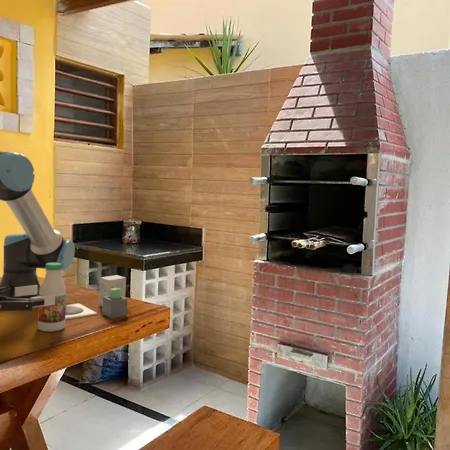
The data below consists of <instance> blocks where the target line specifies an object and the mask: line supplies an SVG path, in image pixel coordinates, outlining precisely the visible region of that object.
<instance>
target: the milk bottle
mask: <svg viewBox="0 0 450 450" xmlns="http://www.w3.org/2000/svg"><path fill="white" fill-rule="evenodd" d="M45 268H46V269H44V270H45V276H44V279H43V280H42V283H41V284H40V286H41V287H40V292H39V294H38V297H41V296H49V295H55V305H49V306H41V307H38V315H37V316H38V317H37V318H38V319H37V321H38V322H37V328H38V330H39V331H42V332H45V333H46V332H50V333H51V332H52V333H53V332H58V331H61V330H62V331H63V329H64V328H65V326H66V320H65V313H66V305H67V289H66V285H65V282H64V280H63V277H62V274H61V273H62V272H63V271H62V270H61V269H62V264H61V263H47V264H46V266H45Z"/></svg>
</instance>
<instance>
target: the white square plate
mask: <svg viewBox="0 0 450 450" xmlns="http://www.w3.org/2000/svg"><path fill="white" fill-rule="evenodd" d="M96 315H98V313H97V312H96V311H94V310H92V309H90V308H88V307H86V306H85V305H83V304H81V303H80V302H79V303H72V304H66V313H65V321H67V320H72V319H79V318H83V317H91V316H96Z"/></svg>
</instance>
